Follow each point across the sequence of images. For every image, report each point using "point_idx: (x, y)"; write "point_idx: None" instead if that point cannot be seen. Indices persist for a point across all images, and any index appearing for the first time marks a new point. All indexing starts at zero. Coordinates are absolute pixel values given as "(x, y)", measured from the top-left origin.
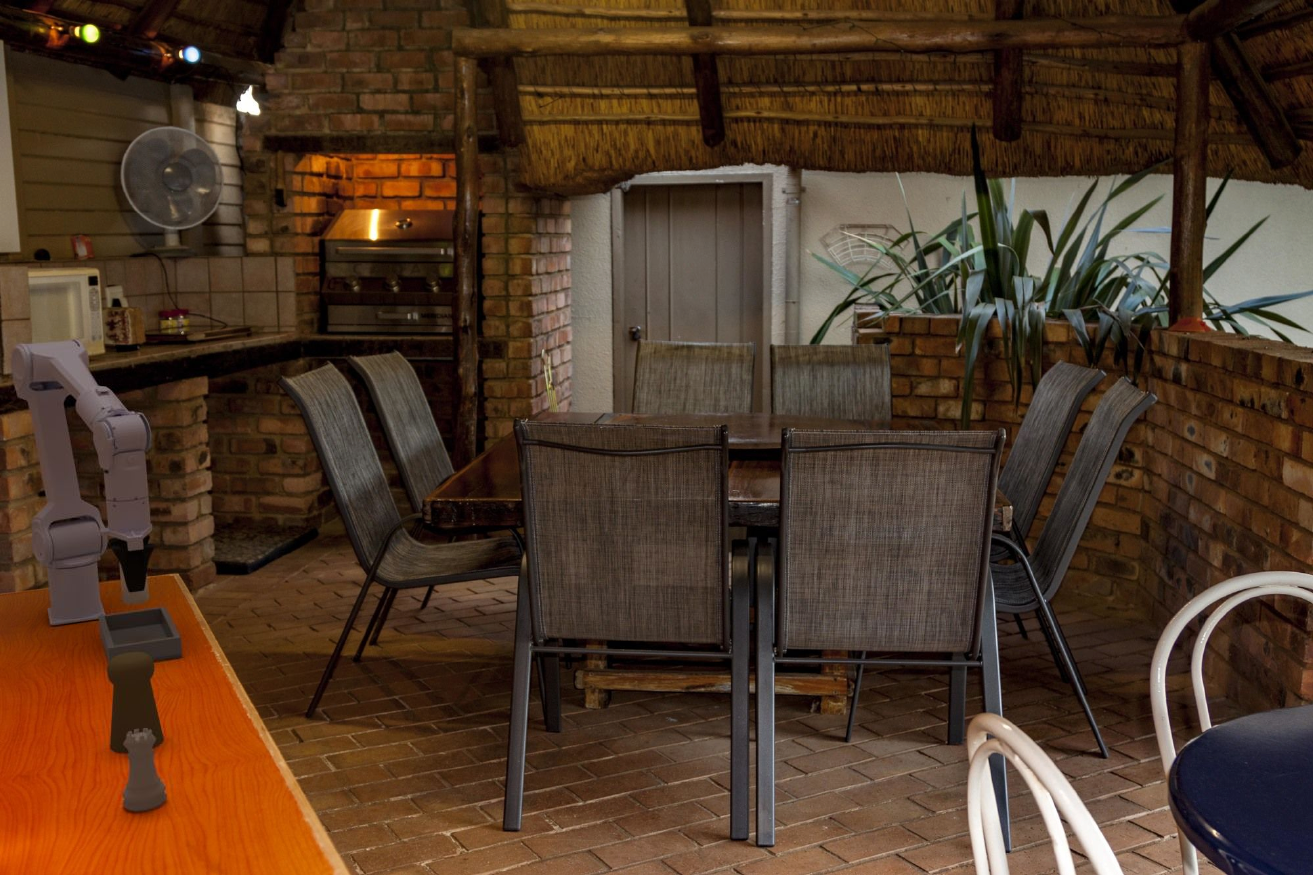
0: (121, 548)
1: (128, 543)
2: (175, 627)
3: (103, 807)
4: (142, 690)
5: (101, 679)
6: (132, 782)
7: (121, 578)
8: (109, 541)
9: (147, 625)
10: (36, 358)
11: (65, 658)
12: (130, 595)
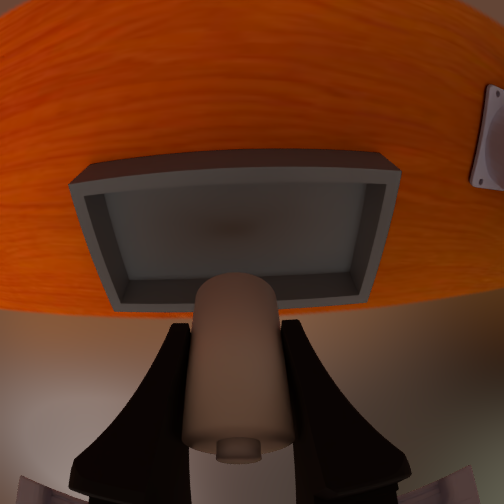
0: (78, 492)
1: (16, 500)
2: (186, 311)
3: None
4: None
5: (39, 153)
6: None
7: (219, 349)
8: (340, 494)
9: (354, 248)
10: None
11: (219, 58)
12: (194, 313)
